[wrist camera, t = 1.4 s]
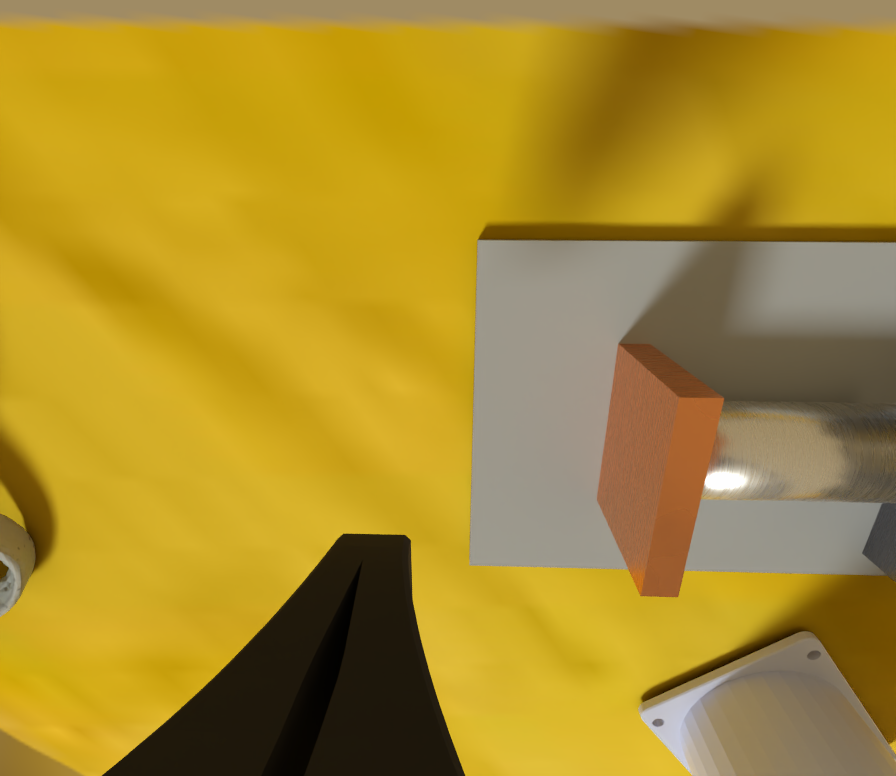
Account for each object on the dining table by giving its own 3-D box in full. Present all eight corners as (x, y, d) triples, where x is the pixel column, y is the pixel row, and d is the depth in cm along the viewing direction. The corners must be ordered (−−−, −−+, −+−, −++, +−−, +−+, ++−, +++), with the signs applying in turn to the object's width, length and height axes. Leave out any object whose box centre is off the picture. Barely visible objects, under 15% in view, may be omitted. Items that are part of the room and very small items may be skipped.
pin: (877, 346, 15) (1045, 402, 10) (823, 504, 17) (944, 604, 12) (618, 343, 15) (679, 397, 11) (596, 499, 17) (640, 596, 13)
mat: (1237, 244, 14) (1259, 245, 13) (1046, 571, 18) (1058, 579, 18) (477, 239, 14) (478, 240, 14) (469, 558, 18) (469, 565, 18)
